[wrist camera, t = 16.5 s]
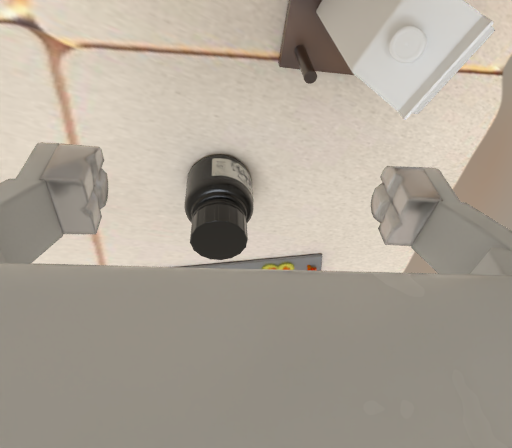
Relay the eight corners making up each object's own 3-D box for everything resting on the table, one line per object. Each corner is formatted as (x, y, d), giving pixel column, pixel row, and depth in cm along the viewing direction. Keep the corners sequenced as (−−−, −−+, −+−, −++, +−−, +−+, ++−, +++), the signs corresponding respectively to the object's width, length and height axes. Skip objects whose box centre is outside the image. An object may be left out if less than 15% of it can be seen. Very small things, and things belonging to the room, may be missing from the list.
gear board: (100, 345, 78) (60, 288, 65) (103, 334, 80) (64, 277, 67) (319, 324, 78) (323, 264, 65) (317, 314, 80) (321, 253, 66)
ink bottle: (263, 189, 56) (270, 250, 47) (212, 213, 58) (210, 275, 50) (227, 139, 50) (228, 199, 41) (173, 169, 52) (163, 231, 44)
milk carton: (416, -20, 37) (529, 52, 23) (367, 46, 41) (438, 141, 28) (361, -66, 34) (452, -14, 21) (314, 11, 38) (365, 96, 25)
